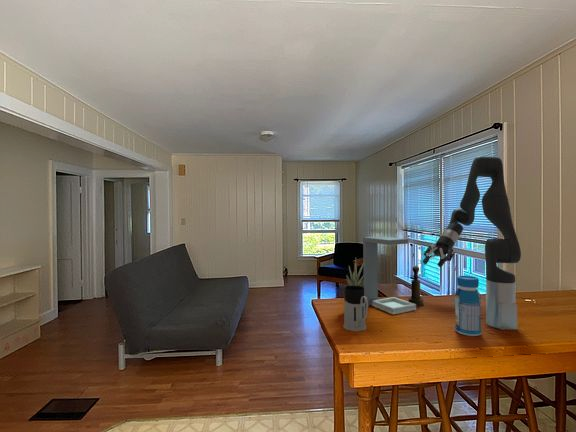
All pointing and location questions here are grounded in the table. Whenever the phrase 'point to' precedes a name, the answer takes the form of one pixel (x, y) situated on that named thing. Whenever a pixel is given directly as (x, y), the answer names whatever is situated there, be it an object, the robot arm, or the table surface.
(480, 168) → the robot arm
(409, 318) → the table surface
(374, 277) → the overhang shelf
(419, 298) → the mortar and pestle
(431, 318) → the table surface
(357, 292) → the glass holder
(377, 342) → the table surface
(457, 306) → the beverage bottle
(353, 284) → the potted plant
